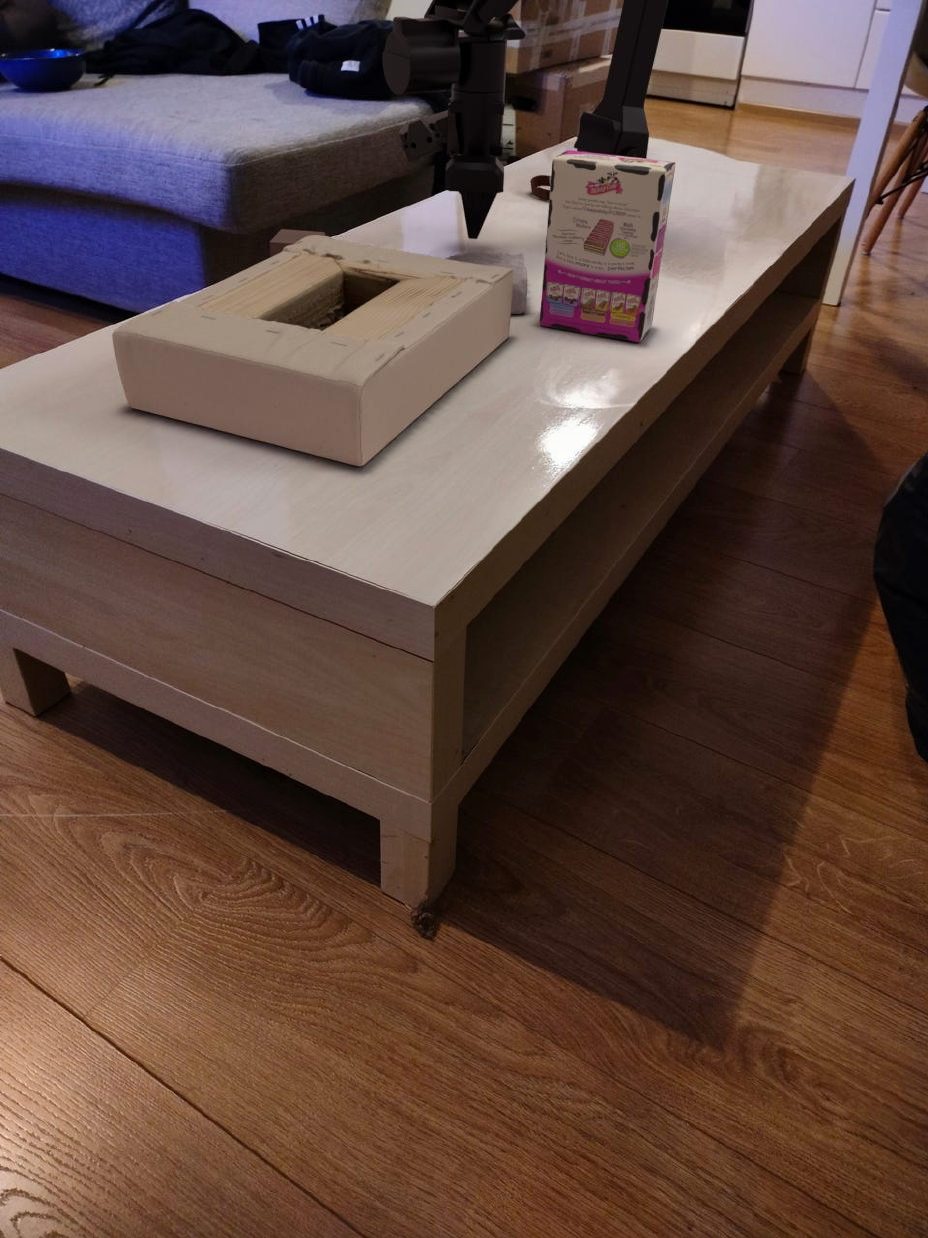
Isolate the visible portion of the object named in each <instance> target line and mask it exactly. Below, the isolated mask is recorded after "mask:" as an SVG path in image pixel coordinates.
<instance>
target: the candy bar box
mask: <svg viewBox="0 0 928 1238" xmlns="http://www.w3.org/2000/svg"><path fill="white" fill-rule="evenodd" d="M551 162H552V163H551V174H550V176H551V186H549V190H550V199H549V200H548V213H547V214H548V215H547V227H546V237H545V249H544V250H545V251H544V265H543V274H542V275H543V277H542V289H541V299H540V300H541V301H540V311H539V325H540V326H542V327H546V328H552V329H557V330H563V331H569V332H575V333H581V334H587V335H594V336H598V337H603V338H610V339H616V340H622V341H628V342H633V343H641V342H642V341H644V338H645V337H646V335H647V334H648V333H649V332H650V331H651V329H652V325H653V320H654V314H655V306H656V299H657V293H658V286H659V278H660V271H661V265H662V258H663V251H664V244H665V237H666V231H667V223H668V218H669V212H670V204H671V196H672V190H673V184H674V183H673V182H674V178H675V170H676V162H675V161H668V160H660V159H651V158H646V159H645V158H636V157H626V156H617V155H607V154H598V153H589V152H580V151H577V150H570V149H567V150H565V151H563V152H561V153H560V154H559V155H557V156H555V157H553V158H552V161H551Z"/></svg>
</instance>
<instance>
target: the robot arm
mask: <svg viewBox="0 0 928 1238" xmlns="http://www.w3.org/2000/svg"><path fill="white" fill-rule="evenodd" d="M519 2H520V0H432V1H431V2H430V4H429V6H428V8H427V10H426V12H425V13H424V15H423V17H422V18H421V17H420V18H419V17H417V18H415V17H414V18H412V17H407V16H394V17H393V18H392V19H393V20H392V31H391V32H390V33H389V34H388V36H387V39H386V42H385V46H384V51H383V52H382V59H381V60H382V68H383V74H384V77H385V82H386V84H387V86H388V88H389V89H390V91H391V92H392V93H393V94H394V95H397V96H400V95H401V96H402V95H414V94H426V93H427V94H429V93H439V92H440V93H443V92H447V91H448V90H450V89H451V97H449V98H448V104H447V109H446V110H444V111H441V112H437V113H434V114H430V115H429V116H426V117H423V116H420V117H419V119H417V120H415V121H413V120H409V122H408V123H407V124H405V125H402V126H401V127H400V129H399V132H398V136H399V139H400V142H401V149H402V151H404V155H405V156H406V157H405V158H406V160H407V163H409V164H413V163H416V162H419V161H421V159H422V158H424V157H427V156H430V155H433V154H436V153H438V152H441V151H443V150H445V149H446V156H449V158H450V159H449V161H448V162H447V163H446V165H445V175H444V180H445V181H444V190H445V191H447V192H457V193H459V195H460V198H461V203H462V208H463V209H462V210H463V216H464V221H465V229H466V233H467V238H468V239H469V240H477V239H478V238H479V236H480V234H481V231H482V229H483V226H484V224H485V222H486V220H487V218H488V215H489V213H490V211H491V208H492V206H493V204H494V201H495V199H496V197H497V195H498V194H500V193H504V186H505V185H504V184H505V165H503V163H502V162H501V160H502V159H503V153H504V152H503V151H504V150H503V149H504V138H503V134H504V133H503V129H504V115H505V95H506V94H505V92H506V72H507V54H508V41H522V40H524V39H525V38H526V32H525V30H523V29H522V28H521V26H520V25H519V24H518V23H517V22H516V20H515V18H514V16H513V14H512V13H510V12H511V11H512V10H513V9H515V6H517V4H518V3H519ZM668 3H669V0H623V3H622V7H621V12H620V17H619V21H618V26H617V32H616V36H615V40H614V45H613V49H612V55H611V58H610V64H609V68H608V72H607V73H608V74H607V78H606V82H605V88H604V92H603V95H602V99H601V100H600V102H599V103H598V105H597V106H596V108H595V109H594V110H593V111H592V113H591V112H587V111H583V112H582V114H581V116H580V118H579V127H578V128H579V129H578V135H577V138H576V140H575V142H574V144H573V148H574V149H576V151H580V152H589V153H598V154H607V155H617V156H626V157H636V158H645V159H648V158H647V157H648V150H649V139H650V132H649V127H648V121H647V116H646V112H645V102H646V99H647V95H648V94H647V93H648V90H649V85H650V81H651V78H652V77H651V76H652V72H653V68H654V64H655V60H656V54H657V50H658V46H659V42H660V38H661V33H662V30H663V29H662V28H663V24H664V20H665V16H666V12H667V7H668Z"/></svg>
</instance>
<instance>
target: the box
mask: <svg viewBox="0 0 928 1238" xmlns="http://www.w3.org/2000/svg"><path fill="white" fill-rule="evenodd" d="M512 289H513V270H512V269H510V268H504V267H498V266H483V265H478V264H472V263H466V262H460V261H455V260H449V259H446V258H443V257H439V256H438V257H437V256H431V255H426V254H421V253H416V252H415V253H414V252H409V251H402V250H398V249H392V248H388V247H381V246H376V245H372V244H370V245H369V244H363V243H358V242H351V241H347V240H342V239H338V238H337V239H336V238H333V237H331V236H328V235H325V236H321V235H311V236H307V237H304V238H302V239H301V240H299V241H298V242H296V243H295V244H293V245H289V246H286V247H284V249H283V251H282V252H281V253H279V254H277V255H275V256H273V257H269V258H266V259H265V260H262V261H260V262H258V263H255V264H254V265H252V266H250V267H248V268H246V269H244V270H242V271H239V272H237V273H235V274H233V275H230V276H229V277H227V278H225V279H223V280H221V281H219V282H217V283H214V284H212V285H211V286H208V287H206V288H204V289H203V290H200V291H199V292H195V293H194V294H192V295H190V296H188V297H186V298H184V299H181V300H179V301H177V300H175V301H171V302H169V303H167V304H165V305H164V306H161V307H160V308H158V309H155V310H152V311H149V312H147V313H144V314H140V315H138V316H136V317H134V318H132V319H129V320H127V321H126V322H124V323H122V324H121V325H120V326H118V327H117V328H115V329H114V330H113V332H112V334H111V337H112V344H113V352H114V357H115V363H116V366H117V371H118V375H119V378H120V382H121V386H122V389H123V392H124V396H125V399H126V401H127V404H128V405H129V406H130V408H132V409H136V410H139V411H142V412H147V413H151V414H155V415H159V416H162V417H166V418H167V417H168V418H171V419H174V420H179V421H182V422H186V423H189V424H194V425H198V426H201V427H202V426H203V427H206V428H209V429H213V430H218V431H221V432H224V433H229V434H233V435H236V436H241V437H243V438H244V437H245V438H247V439H252V440H256V441H260V442H264V443H268V444H271V445H275V446H278V447H283V448H286V449H290V450H293V451H298V452H301V453H305V454H310V455H313V456H316V457H319V458H324V459H328V460H332V461H336V462H340V463H344V464H348V465H352V466H357V467H363V466H364V465H365V464H367V463H368V462H369V461H370V460H372V458H374V457H375V456H376V455H377V454H378V453H380V452H381V450H383V449H384V448H385V447H386V446H387V445H389V443H390V442H391V441H393V440H394V439H395V438H396V437H397V436H398V435H399V434H401V433H402V432H404V430H405V429H406V428H408V426H409V425H411V424H412V423H413V422H414V421H415V420H416V419H418V417H420V416H421V415H422V414H423V413H424V412H425V411H427V410H428V409H429V408H430V407H431V406H433V404H435V403H436V402H437V401H439V399H440V398H442V396H443V395H444V394H445V393H446V392H447V391H449V390H450V389H451V388H452V387H454V386H455V385H456V384H457V383H459V382H460V381H461V380H462V378H464V377H465V376H466V375H467V374H469V373H470V372H471V371H472V370H473V369H474V368H476V366H478V365H479V364H480V363H481V362H482V361H483V360H484V359H485V358H486V357H488V356H489V355H490V354H491V353H492V352H494V350H496V349H497V348H498V347H499V346H500V345H501V344H503V342H505V341H506V340H507V339H508V338H509V336H510V328H511V316H512V314H511V303H512Z"/></svg>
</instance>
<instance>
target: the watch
mask: <svg viewBox="0 0 928 1238" xmlns="http://www.w3.org/2000/svg"><path fill="white" fill-rule="evenodd" d="M529 182H530V190H531V191H530V192H531V194H532V196H534V197H536V198H538V199H539V200H542V201H549V199H550V189H546V188H543V187H550V186H551V175H547V174H538V175H535V176H533V177H532V178H531V179H530V181H529Z"/></svg>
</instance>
